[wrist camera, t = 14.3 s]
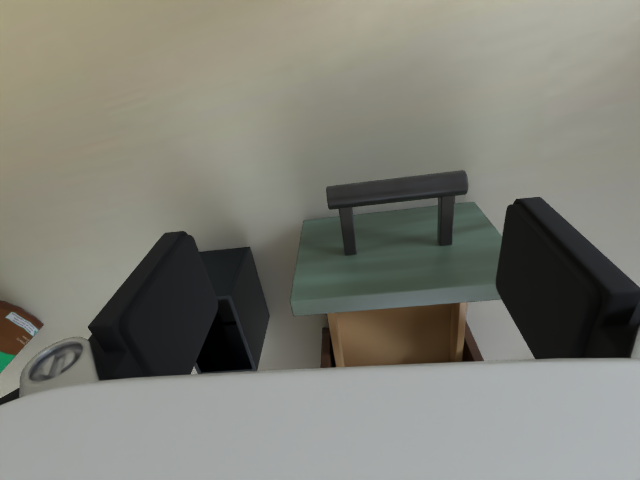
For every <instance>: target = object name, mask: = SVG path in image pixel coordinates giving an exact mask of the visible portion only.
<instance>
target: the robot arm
mask: <svg viewBox="0 0 640 480" xmlns="http://www.w3.org/2000/svg"><path fill="white" fill-rule="evenodd" d="M496 289H497V292H498V294H499V295H500V297H501V299H502V301H503V303H504V304H505V306H506V308H507V310H508V311H509V313H510V315H511V317H512V319H513V320H514V322H515V324H516V326H517V327H518V329H519V331H520V333H521V334H522V336H523V338H524V340H525V342H526V343H527V345H528V347H529V349H530V350H531V352H532V354H533V356H534V358H535V359H532V360H500V361H475V362H450V363H426V364H401V365H378V366H356V367H334V368H312V369H291V370H270V371H251V372H231V373H212V374H193V375H190V374H191V372H192V370H193V367H194V365H195V362H196V360H197V358H198V355H199V353H200V351H201V348H202V346H203V344H204V341H205V339H206V336H207V334H208V332H209V329H210V327H211V325H212V322H213V320H214V318H215V315H216V313H217V310H218V301H217V298H216V295H215V292H214V290H213V287H212V285H211V282H210V279H209V277H208V274H207V272H206V269H205V266H204V264H203V261H202V259H201V256H200V253H199V251H198V248H197V246H196V243H195V240H194V238H193V237H192V236H191V235H188V234H187V233H186V232H184V231H180V232H169V233H165V234H163V236H162V237H161V238H160V239H159V240H158V242H157V243H156V244H155V245H154V246H153V248H152V249H151V250H150V251H149V253H148V254H147V255H146V256H145V257H144V259H143V260H142V261H141V262H140V264H139V265H138V266H137V267H136V268H135V270H134V271H133V272H132V273H131V275H130V276H129V277H128V278H127V279H126V281H125V282H124V283H123V284H122V286H121V287H120V288H119V289H118V290H117V292H116V293H115V294H114V295H113V297H112V298H111V299H110V300H109V301H108V303H107V304H106V305H105V306H104V308H103V309H102V310H101V311H100V312H99V314H98V315H97V316H96V317H95V319H94V320H93V321H92V322H91V323H90V325H89V326H88V328H89V330H90V331H91V333H92V335H91V337H90V338H89V339H88V340H87V339H85V338H83V337H71V338H66V339H63V340H61V341H58V342H56V343H53V344H52V345H50V346H48V347H46V348H45V349H43V350H42V351H40V352H39V353H38V354H36V355H35V356H34V357H33V358H32V359H31V360H30V361H29V362H28V363H27V364H26V366H25V367H24V369H23V370H22V372H21V376H20V388H18V389H16V390H14V391H13V392H11V393H9V394H7V395H5V396H4V397H2V398H0V480H640V287H638V286H637V285H636V284H635V283H634V282H633V281H632V280H631V279H630V278H629V277H627V276H626V275H625V274H624V273H623V272H622V271H621V270H620V269H619V268H618V267H617V266H615V265H614V264H613V263H612V262H611V261H610V260H609V259H608V258H607V257H606V256H604V255H603V254H602V253H601V252H600V251H599V250H598V249H597V248H596V247H595V246H593V245H592V244H591V243H590V242H589V241H588V240H587V239H586V238H585V237H584V236H583V235H581V234H580V233H579V232H578V231H577V230H576V229H575V228H574V227H573V226H572V225H570V224H569V223H568V222H567V221H566V220H565V219H564V218H563V217H562V216H561V215H560V214H558V213H557V212H556V211H555V210H554V209H553V208H552V207H551V206H550V205H549V204H547V203H546V202H545V201H544V200H543V199H542V198H540V197H533V198H523V199H516V200H515V201H514V203H513V205H509V206H508V207H507V210H506V217H505V223H504V229H503V236H502V242H501V248H500V255H499V261H498V268H497V274H496Z"/></svg>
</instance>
